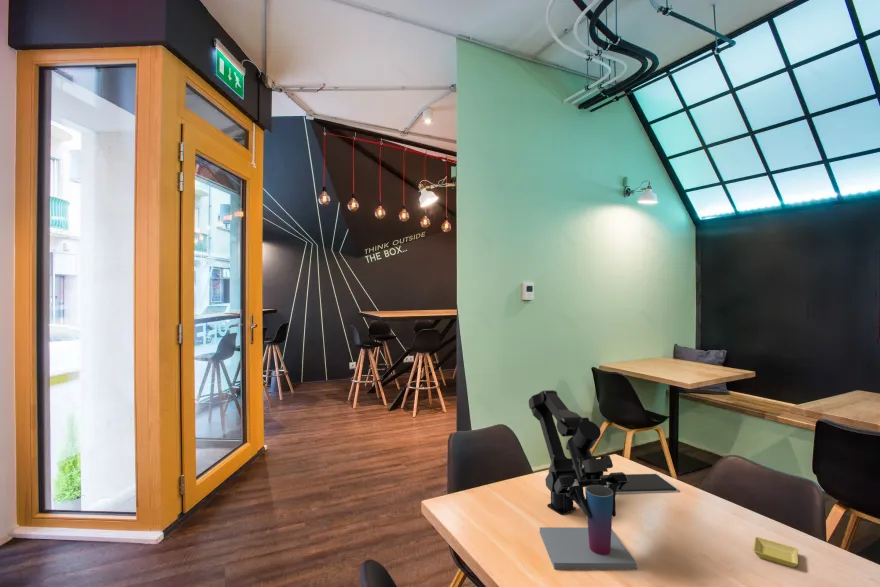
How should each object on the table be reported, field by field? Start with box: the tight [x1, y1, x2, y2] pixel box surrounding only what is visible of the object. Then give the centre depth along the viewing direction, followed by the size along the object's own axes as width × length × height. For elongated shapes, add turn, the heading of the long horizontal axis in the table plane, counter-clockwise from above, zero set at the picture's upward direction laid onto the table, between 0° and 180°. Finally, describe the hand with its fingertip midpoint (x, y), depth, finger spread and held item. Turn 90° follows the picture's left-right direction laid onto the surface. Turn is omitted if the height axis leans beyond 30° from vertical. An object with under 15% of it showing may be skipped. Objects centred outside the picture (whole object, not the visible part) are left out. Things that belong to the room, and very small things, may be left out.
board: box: [539, 526, 638, 570], centre depth 109 cm, size 20×16×2 cm
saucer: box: [753, 536, 799, 568], centre depth 106 cm, size 9×9×2 cm
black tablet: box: [600, 473, 680, 495], centre depth 148 cm, size 13×27×2 cm, turn 93°
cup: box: [584, 485, 613, 555], centre depth 107 cm, size 7×7×15 cm
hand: (602, 517), depth 105 cm, fingers open, 6 cm apart
